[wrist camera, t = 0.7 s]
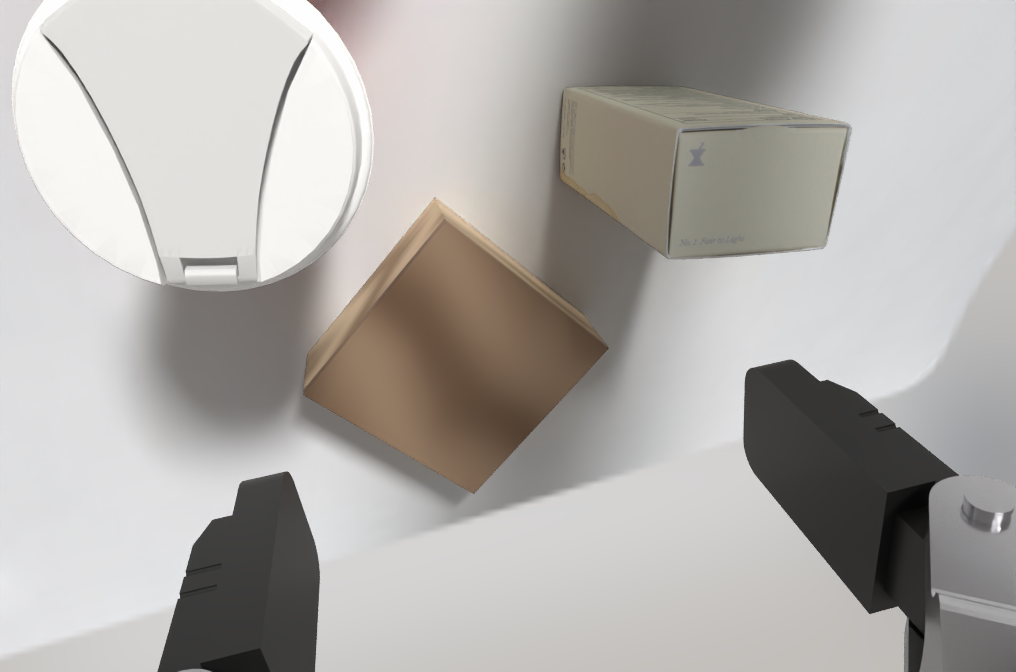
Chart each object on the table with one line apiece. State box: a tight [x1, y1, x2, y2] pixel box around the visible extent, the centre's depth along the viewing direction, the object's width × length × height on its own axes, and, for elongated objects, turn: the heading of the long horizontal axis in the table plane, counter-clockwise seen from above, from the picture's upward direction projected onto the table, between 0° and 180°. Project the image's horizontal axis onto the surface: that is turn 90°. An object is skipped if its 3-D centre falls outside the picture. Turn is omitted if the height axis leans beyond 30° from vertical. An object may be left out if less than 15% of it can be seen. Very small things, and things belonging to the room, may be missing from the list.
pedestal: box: [303, 198, 609, 494], centre depth 35 cm, size 10×10×4 cm
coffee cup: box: [12, 0, 374, 292], centre depth 23 cm, size 8×8×15 cm
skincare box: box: [560, 86, 852, 259], centre depth 28 cm, size 6×4×12 cm
